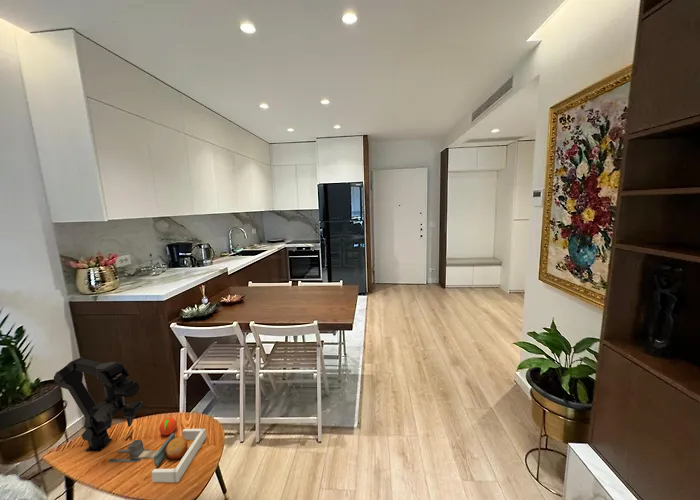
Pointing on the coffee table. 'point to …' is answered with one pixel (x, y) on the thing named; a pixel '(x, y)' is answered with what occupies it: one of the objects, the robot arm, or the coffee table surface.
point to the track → (125, 459)
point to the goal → (177, 473)
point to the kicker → (138, 451)
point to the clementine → (167, 426)
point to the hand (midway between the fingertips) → (119, 426)
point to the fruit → (176, 448)
